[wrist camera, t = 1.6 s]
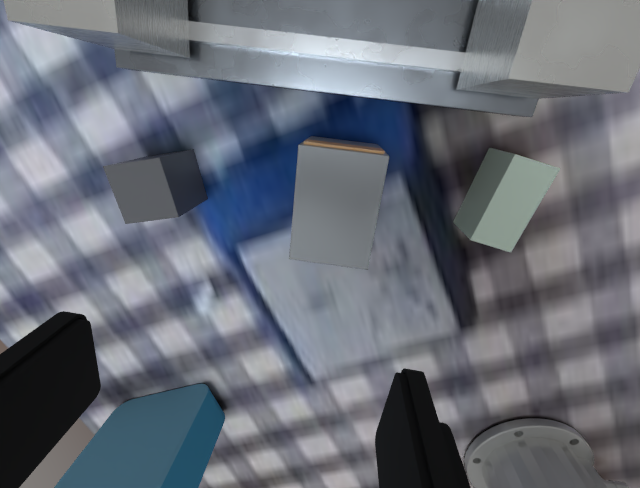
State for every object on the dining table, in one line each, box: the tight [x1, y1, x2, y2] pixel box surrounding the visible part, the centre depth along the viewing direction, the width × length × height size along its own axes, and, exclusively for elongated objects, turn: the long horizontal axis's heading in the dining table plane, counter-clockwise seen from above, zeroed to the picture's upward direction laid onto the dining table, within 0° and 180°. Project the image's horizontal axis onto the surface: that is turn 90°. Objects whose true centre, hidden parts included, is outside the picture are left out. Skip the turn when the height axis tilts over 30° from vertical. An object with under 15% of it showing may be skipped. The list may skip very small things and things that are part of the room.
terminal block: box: [453, 148, 560, 252], centre depth 23 cm, size 3×6×4 cm, turn 164°
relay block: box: [103, 149, 208, 224], centre depth 24 cm, size 4×4×5 cm
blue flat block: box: [54, 384, 225, 488], centre depth 31 cm, size 12×4×12 cm, turn 110°
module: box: [289, 136, 389, 270], centre depth 22 cm, size 5×7×7 cm
